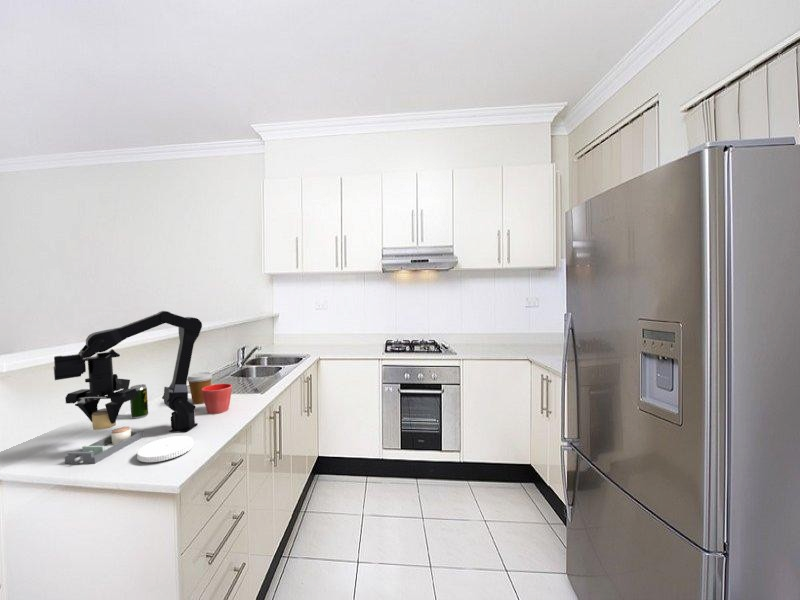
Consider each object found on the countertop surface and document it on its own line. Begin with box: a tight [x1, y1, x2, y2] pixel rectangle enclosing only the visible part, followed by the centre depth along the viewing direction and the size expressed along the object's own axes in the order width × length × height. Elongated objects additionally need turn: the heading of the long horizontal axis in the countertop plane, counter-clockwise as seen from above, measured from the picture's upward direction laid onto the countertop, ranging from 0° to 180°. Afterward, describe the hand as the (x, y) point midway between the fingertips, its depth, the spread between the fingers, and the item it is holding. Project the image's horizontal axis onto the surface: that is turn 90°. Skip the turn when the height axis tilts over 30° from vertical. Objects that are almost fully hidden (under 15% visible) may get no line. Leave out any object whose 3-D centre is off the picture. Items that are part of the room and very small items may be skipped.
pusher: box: [74, 445, 106, 462], centre depth 103 cm, size 6×6×3 cm
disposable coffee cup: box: [187, 371, 213, 405], centre depth 154 cm, size 10×10×12 cm
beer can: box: [129, 384, 149, 420], centre depth 138 cm, size 5×5×12 cm
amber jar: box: [91, 407, 117, 431], centre depth 109 cm, size 6×6×5 cm
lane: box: [64, 430, 145, 465], centre depth 110 cm, size 9×18×3 cm, turn 177°
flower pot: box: [202, 383, 233, 415], centre depth 143 cm, size 11×11×10 cm
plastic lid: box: [136, 435, 194, 463], centre depth 106 cm, size 14×14×2 cm
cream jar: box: [110, 426, 132, 446], centre depth 115 cm, size 5×5×4 cm
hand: (104, 423), depth 109 cm, fingers closed on amber jar, 5 cm apart
